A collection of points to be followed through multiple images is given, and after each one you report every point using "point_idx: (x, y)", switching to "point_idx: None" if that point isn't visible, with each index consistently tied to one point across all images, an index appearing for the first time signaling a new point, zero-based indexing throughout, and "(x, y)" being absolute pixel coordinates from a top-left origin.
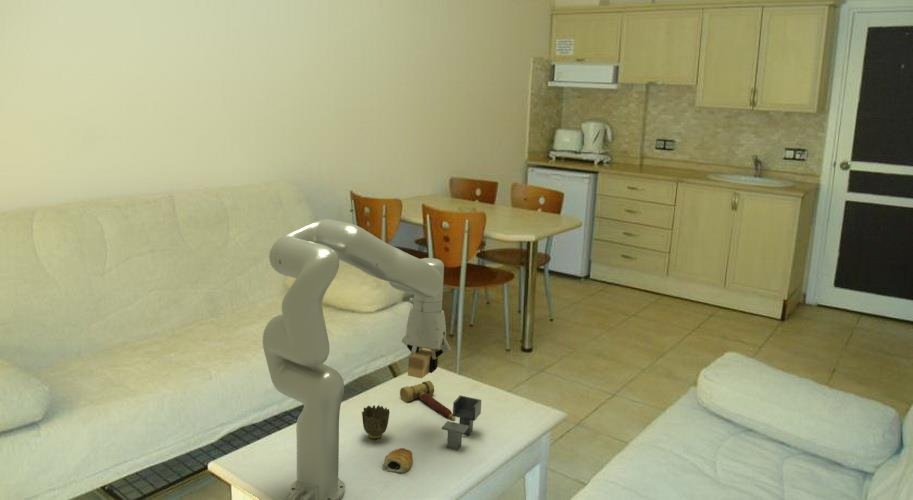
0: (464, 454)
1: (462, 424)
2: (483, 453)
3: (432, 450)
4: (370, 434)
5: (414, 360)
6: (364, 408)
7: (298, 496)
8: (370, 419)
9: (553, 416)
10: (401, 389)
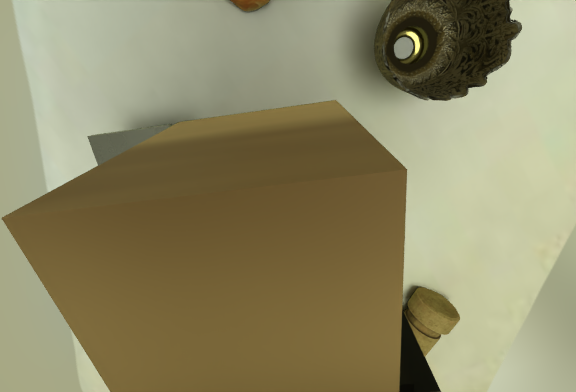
0: (122, 122)
1: None
2: (88, 158)
3: (207, 88)
4: (415, 3)
5: (237, 167)
6: (516, 28)
7: None
8: None
9: (88, 387)
10: (455, 315)
